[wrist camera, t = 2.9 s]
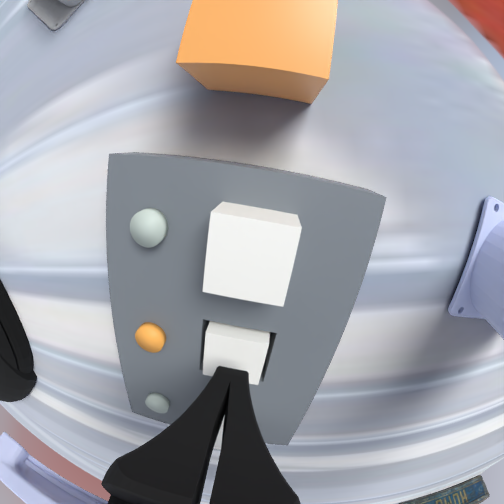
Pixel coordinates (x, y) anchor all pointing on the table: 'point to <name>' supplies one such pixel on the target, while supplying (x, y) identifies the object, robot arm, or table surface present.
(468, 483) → the metal box
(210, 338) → the block
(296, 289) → the breaker board
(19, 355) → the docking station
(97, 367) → the table surface
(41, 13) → the emergency button
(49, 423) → the table surface
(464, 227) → the table surface
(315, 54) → the orange rounded cube
